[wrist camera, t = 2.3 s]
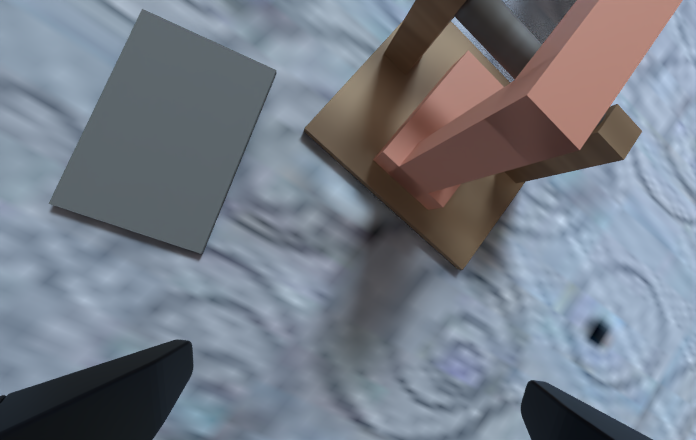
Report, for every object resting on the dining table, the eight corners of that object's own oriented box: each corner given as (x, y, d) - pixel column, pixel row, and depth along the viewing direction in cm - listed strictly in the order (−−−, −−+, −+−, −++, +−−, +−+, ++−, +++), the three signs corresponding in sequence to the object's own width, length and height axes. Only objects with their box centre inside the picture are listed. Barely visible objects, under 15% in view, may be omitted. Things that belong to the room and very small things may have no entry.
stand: (457, 269, 23) (554, 285, 15) (303, 131, 21) (322, 68, 13) (552, 136, 25) (678, 91, 17) (422, 1, 23) (497, -118, 15)
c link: (428, 210, 22) (606, 178, 10) (373, 159, 21) (496, 63, 9) (500, 115, 23) (725, -5, 12) (451, 66, 23) (639, -114, 11)
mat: (202, 253, 19) (201, 253, 19) (53, 204, 18) (48, 203, 17) (276, 73, 21) (276, 70, 20) (144, 13, 19) (142, 8, 19)
